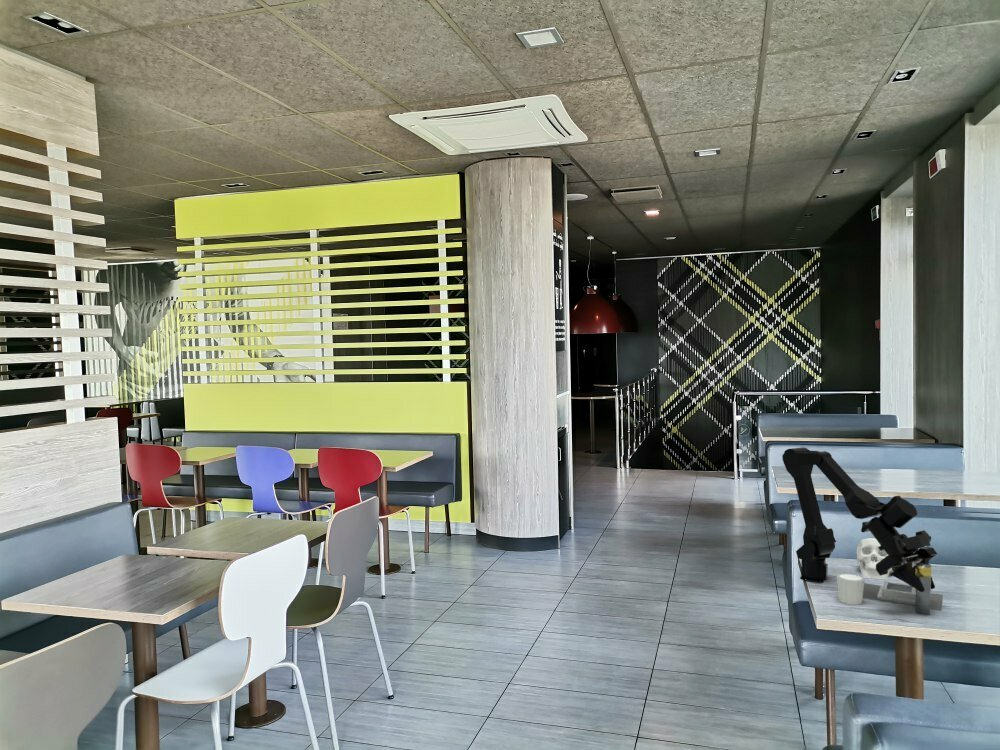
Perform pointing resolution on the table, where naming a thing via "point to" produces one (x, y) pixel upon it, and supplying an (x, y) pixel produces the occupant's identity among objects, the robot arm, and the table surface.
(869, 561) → the skull bowl
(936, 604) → the mat
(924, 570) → the grey yellow-banded cylinder
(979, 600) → the table surface
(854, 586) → the white cylinder
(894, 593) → the silver square tray
